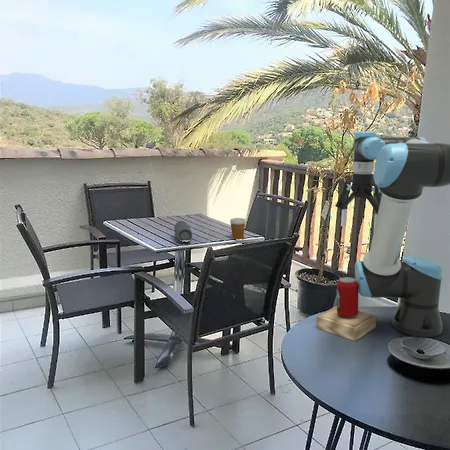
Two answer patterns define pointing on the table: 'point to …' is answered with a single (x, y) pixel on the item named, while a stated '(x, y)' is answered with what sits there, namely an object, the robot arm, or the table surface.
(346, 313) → the beverage can
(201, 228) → the table surface
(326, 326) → the square tray
